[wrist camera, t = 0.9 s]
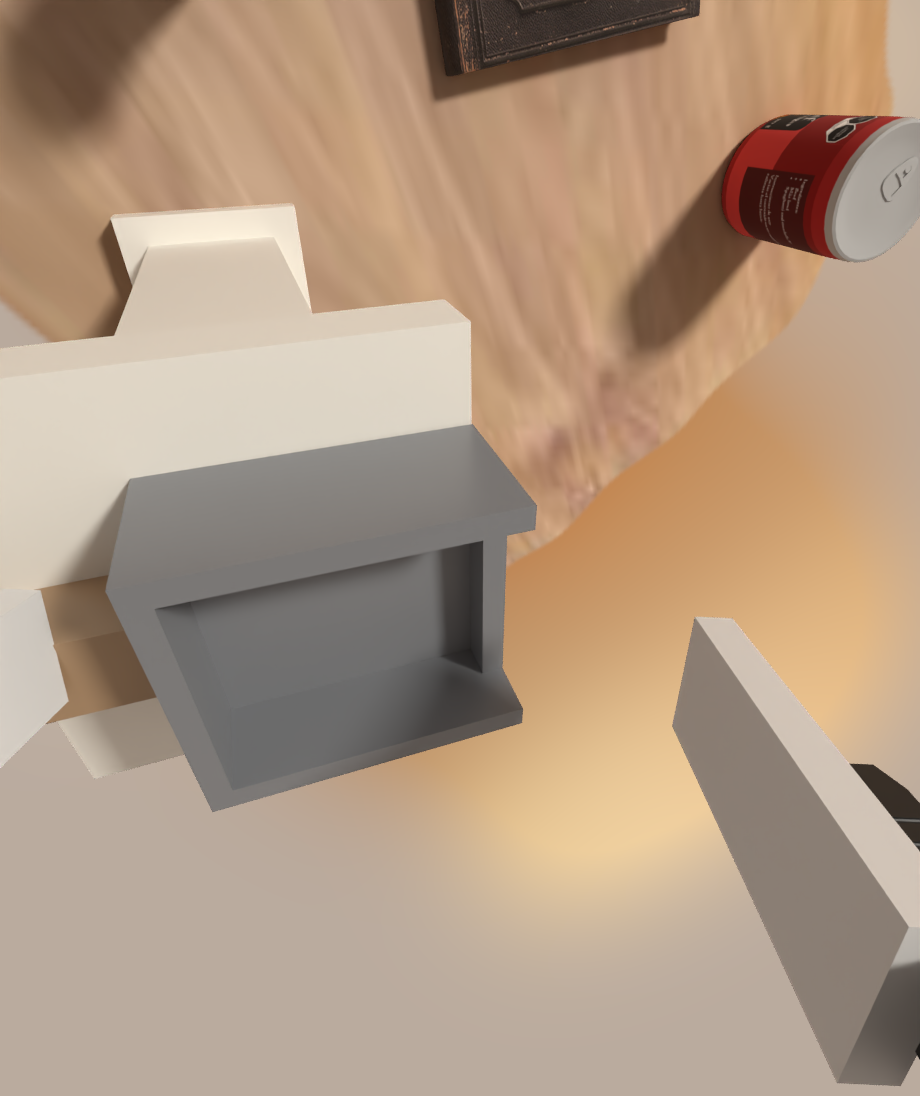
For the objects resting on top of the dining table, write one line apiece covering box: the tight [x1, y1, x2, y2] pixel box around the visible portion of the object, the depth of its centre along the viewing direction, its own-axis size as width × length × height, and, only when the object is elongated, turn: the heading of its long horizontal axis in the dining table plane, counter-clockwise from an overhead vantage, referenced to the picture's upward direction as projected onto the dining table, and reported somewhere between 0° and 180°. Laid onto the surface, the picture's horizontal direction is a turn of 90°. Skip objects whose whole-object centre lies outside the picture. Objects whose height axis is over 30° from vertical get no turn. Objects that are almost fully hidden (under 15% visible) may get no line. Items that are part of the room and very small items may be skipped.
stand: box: [0, 203, 471, 779], centre depth 27 cm, size 12×12×30 cm
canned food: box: [722, 115, 920, 262], centre depth 42 cm, size 8×8×11 cm
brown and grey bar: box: [35, 424, 537, 812], centre depth 13 cm, size 22×7×4 cm, turn 92°
